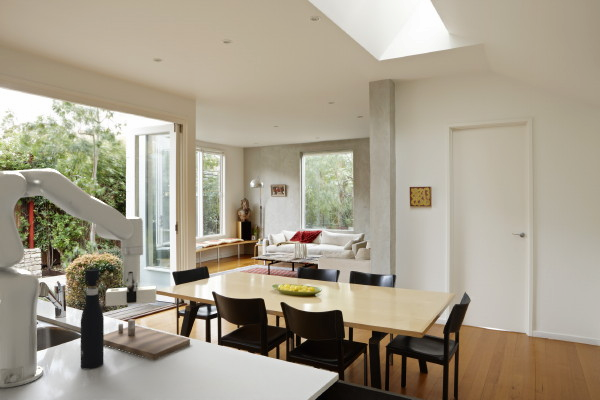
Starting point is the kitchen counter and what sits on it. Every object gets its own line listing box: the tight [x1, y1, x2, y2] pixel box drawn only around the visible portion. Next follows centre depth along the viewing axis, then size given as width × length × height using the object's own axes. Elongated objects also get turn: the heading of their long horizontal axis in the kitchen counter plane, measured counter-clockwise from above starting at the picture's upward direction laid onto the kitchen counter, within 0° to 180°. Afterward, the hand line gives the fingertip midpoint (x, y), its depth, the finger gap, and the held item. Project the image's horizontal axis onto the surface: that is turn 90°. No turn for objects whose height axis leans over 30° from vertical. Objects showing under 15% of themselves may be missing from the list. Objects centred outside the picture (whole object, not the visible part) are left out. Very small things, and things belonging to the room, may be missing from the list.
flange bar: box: [105, 285, 157, 307], centre depth 151 cm, size 17×5×5 cm, turn 106°
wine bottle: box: [80, 268, 105, 370], centre depth 129 cm, size 6×6×30 cm
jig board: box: [104, 318, 191, 361], centre depth 148 cm, size 30×16×8 cm, turn 61°
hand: (132, 299), depth 151 cm, fingers closed on flange bar, 5 cm apart
